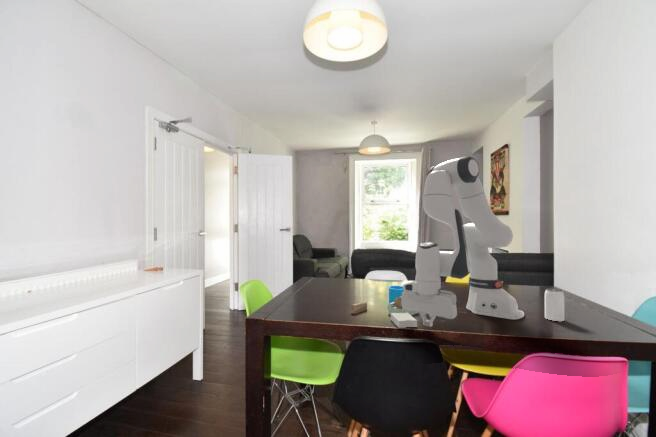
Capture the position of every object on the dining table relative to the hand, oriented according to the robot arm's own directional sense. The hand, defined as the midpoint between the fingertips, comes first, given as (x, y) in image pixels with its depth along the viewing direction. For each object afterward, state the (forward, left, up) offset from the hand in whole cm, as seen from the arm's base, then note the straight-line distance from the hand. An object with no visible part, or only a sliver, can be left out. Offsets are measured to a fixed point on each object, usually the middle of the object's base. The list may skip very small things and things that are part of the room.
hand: (427, 325), depth 112 cm
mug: (+28, -23, -2) cm, 37 cm away
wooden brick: (+32, 0, -2) cm, 32 cm away
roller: (+17, -12, +1) cm, 21 cm away
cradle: (+17, -12, -2) cm, 21 cm away
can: (-30, -48, -2) cm, 56 cm away
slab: (+10, 0, -2) cm, 10 cm away
